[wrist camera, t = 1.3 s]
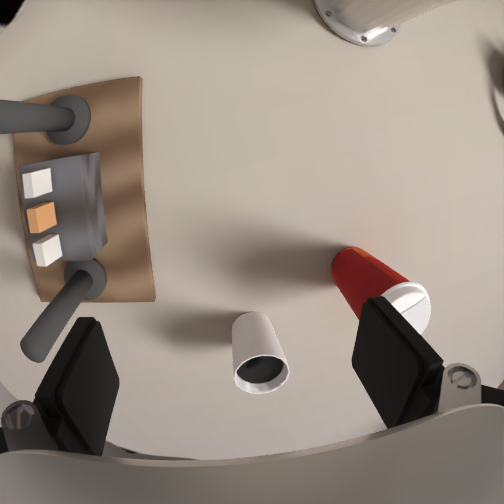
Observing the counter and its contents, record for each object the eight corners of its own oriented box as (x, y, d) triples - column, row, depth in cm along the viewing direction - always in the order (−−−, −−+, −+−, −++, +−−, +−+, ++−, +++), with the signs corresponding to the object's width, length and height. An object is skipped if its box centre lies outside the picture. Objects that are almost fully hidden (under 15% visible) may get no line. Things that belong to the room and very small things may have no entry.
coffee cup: (323, 297, 43) (367, 363, 30) (321, 244, 40) (373, 298, 26) (374, 286, 44) (429, 342, 30) (376, 234, 41) (441, 280, 27)
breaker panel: (19, 104, 28) (-13, 102, 21) (142, 78, 30) (125, 64, 23) (45, 296, 38) (23, 323, 31) (155, 296, 40) (146, 327, 33)
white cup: (218, 331, 43) (222, 379, 34) (250, 300, 42) (261, 345, 33) (252, 353, 45) (262, 400, 36) (283, 325, 44) (300, 370, 35)
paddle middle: (44, 202, 26) (26, 209, 24) (53, 201, 26) (35, 208, 24) (47, 224, 27) (30, 233, 24) (56, 224, 27) (39, 233, 24)
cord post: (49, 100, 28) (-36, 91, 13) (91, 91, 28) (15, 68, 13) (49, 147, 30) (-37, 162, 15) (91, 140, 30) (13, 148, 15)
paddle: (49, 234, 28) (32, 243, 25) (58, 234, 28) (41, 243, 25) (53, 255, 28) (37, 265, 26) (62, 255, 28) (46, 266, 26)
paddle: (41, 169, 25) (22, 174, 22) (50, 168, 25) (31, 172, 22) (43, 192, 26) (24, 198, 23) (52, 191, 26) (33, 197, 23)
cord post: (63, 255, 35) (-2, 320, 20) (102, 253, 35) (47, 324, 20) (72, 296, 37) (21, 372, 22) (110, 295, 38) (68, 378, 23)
